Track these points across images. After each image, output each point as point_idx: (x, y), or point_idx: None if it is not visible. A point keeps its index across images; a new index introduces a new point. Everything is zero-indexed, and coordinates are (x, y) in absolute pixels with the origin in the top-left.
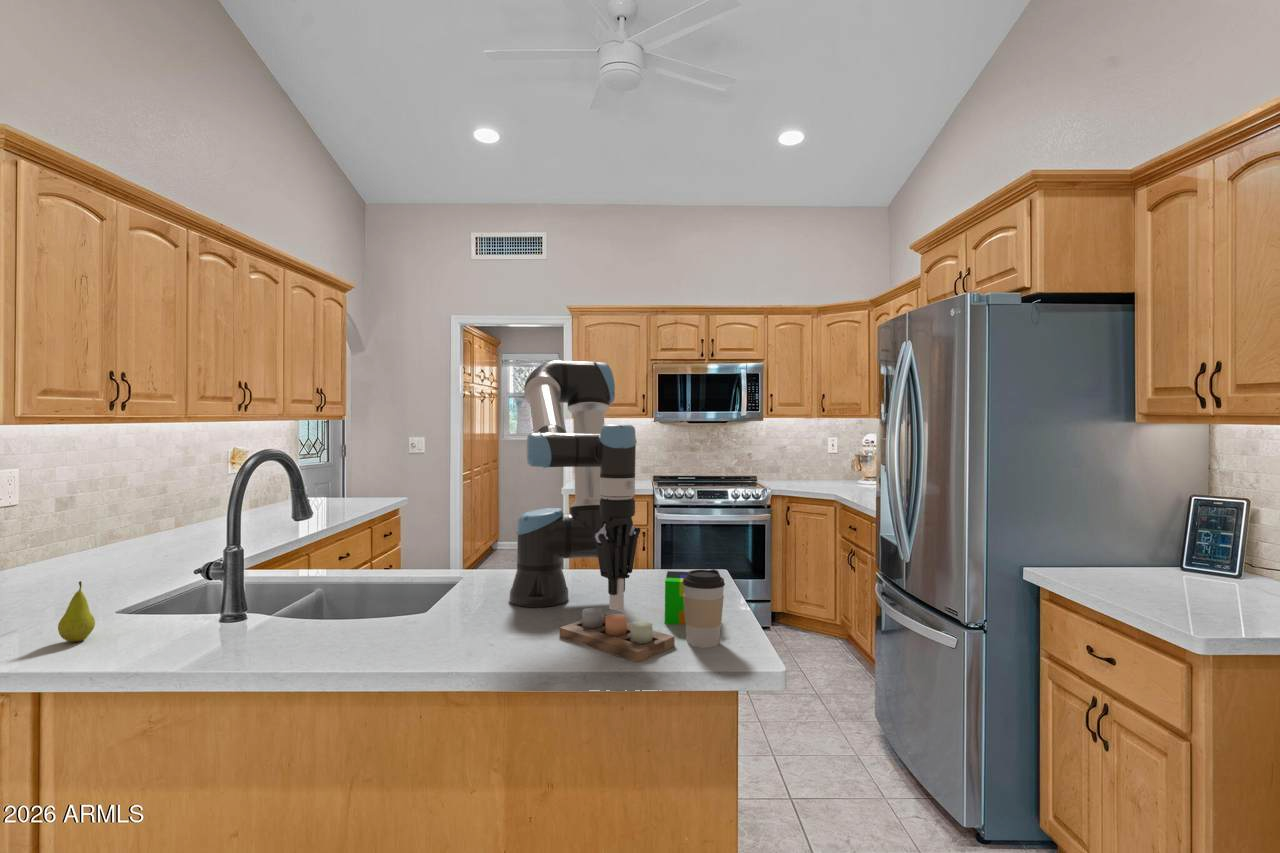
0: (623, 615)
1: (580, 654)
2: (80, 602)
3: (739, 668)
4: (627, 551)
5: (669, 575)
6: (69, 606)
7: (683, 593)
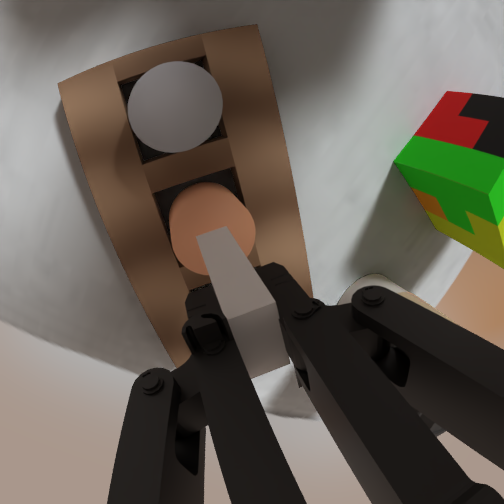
0: (250, 231)
1: (66, 255)
2: None
3: (310, 408)
4: (464, 411)
5: None
6: None
7: (474, 220)
